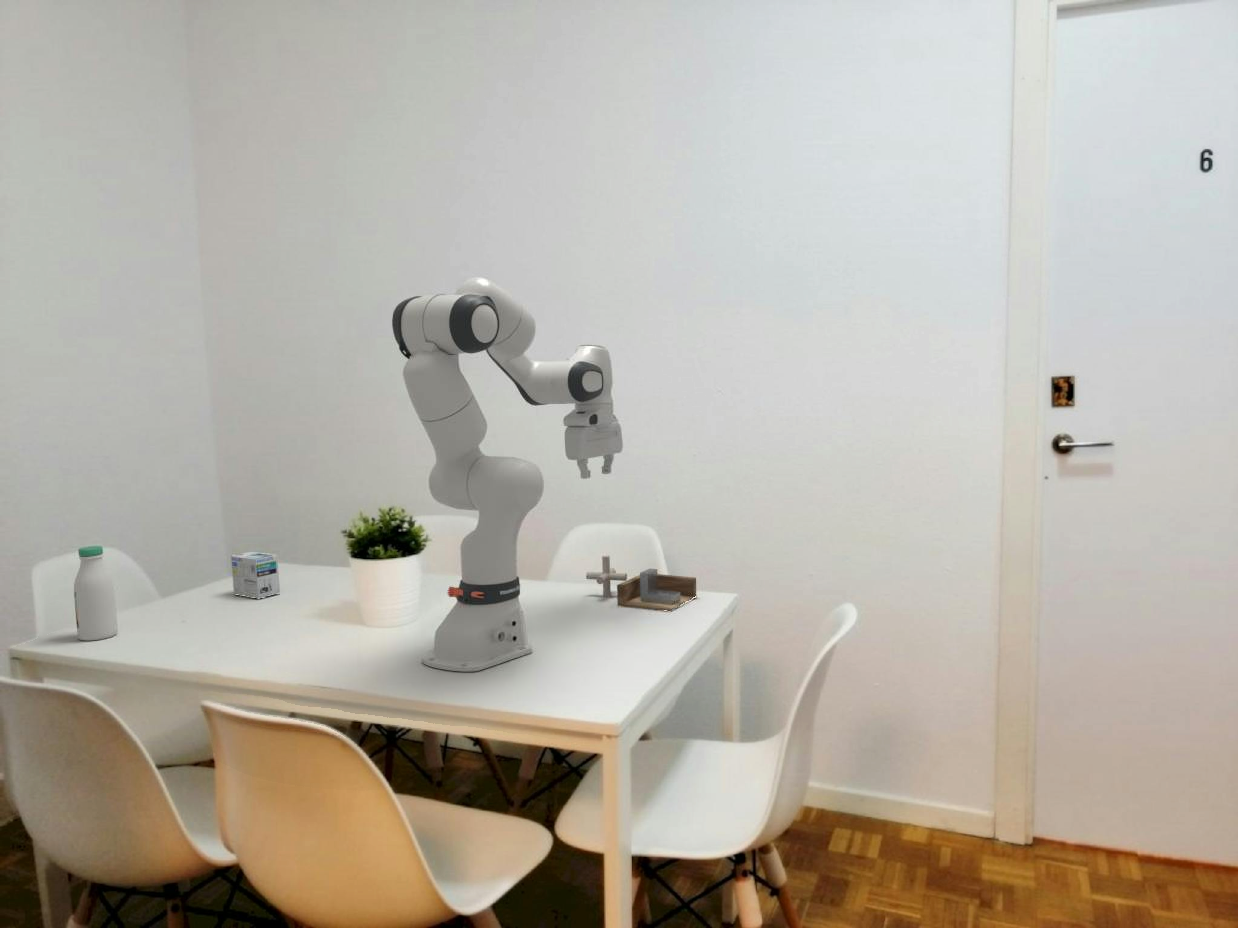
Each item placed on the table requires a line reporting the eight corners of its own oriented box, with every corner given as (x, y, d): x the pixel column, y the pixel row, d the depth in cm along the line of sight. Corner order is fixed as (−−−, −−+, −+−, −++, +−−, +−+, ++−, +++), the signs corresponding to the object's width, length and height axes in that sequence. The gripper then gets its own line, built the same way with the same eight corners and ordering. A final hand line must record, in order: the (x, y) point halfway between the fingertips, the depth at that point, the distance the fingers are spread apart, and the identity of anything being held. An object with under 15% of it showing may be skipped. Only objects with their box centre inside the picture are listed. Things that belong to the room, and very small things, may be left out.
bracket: (640, 601, 214) (640, 572, 214) (650, 596, 219) (649, 568, 218) (671, 605, 210) (670, 575, 210) (680, 600, 215) (679, 571, 214)
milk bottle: (126, 632, 202) (118, 544, 200) (97, 642, 195) (89, 551, 193) (98, 630, 205) (90, 543, 203) (69, 640, 197) (61, 550, 195)
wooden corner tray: (670, 611, 207) (670, 590, 206) (617, 605, 214) (617, 584, 213) (696, 597, 219) (696, 577, 218) (645, 592, 226) (644, 572, 225)
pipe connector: (581, 600, 220) (579, 559, 219) (594, 590, 229) (593, 551, 228) (620, 602, 217) (619, 561, 216) (632, 592, 226) (630, 552, 225)
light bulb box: (281, 594, 235) (278, 553, 234) (258, 600, 229) (255, 558, 228) (255, 590, 240) (252, 550, 239) (232, 595, 235) (229, 555, 234)
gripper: (605, 414, 218) (607, 470, 220) (558, 418, 201) (561, 480, 202) (628, 413, 215) (629, 471, 217) (583, 418, 198) (585, 481, 199)
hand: (596, 476), depth 209 cm, fingers open, 8 cm apart
